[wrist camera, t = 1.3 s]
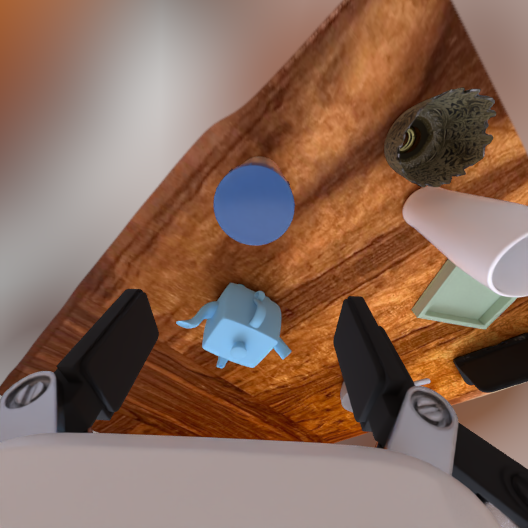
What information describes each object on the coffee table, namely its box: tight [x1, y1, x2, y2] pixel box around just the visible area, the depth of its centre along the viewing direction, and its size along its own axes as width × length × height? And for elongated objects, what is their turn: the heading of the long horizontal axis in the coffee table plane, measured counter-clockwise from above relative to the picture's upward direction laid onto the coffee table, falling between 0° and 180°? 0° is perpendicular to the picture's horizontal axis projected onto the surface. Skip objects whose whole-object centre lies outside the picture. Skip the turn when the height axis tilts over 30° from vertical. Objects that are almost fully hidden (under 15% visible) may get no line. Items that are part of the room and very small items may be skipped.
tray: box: [411, 259, 518, 329], centre depth 35 cm, size 13×13×2 cm
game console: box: [453, 333, 528, 393], centre depth 39 cm, size 16×14×9 cm
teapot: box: [177, 283, 292, 369], centre depth 35 cm, size 18×14×10 cm
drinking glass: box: [403, 186, 528, 297], centre depth 23 cm, size 7×7×15 cm
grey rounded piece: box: [384, 88, 496, 188], centre depth 22 cm, size 8×7×8 cm
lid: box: [214, 162, 295, 245], centre depth 20 cm, size 7×7×2 cm
